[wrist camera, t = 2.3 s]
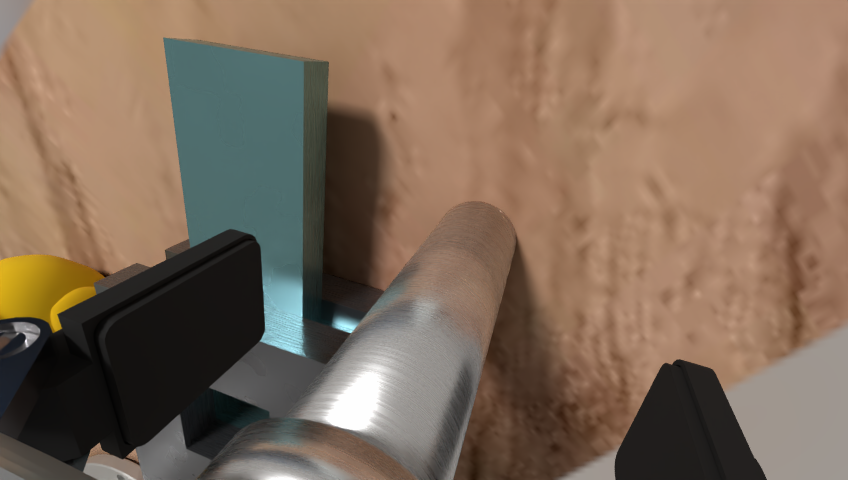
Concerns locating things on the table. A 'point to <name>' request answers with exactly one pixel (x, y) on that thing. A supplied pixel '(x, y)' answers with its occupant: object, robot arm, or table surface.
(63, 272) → the duckling
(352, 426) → the pin
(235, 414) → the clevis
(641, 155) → the table surface
